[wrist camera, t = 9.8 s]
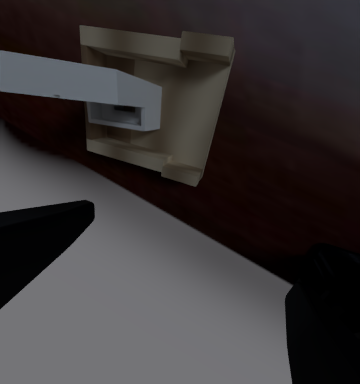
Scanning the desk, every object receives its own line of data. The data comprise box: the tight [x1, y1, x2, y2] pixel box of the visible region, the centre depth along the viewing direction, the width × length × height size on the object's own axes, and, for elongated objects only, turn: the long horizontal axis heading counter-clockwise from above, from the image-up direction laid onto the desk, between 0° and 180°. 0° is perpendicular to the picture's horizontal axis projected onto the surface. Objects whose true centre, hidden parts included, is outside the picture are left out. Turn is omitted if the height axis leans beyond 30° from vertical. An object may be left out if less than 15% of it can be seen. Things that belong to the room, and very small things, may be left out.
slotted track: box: [80, 25, 235, 187], centre depth 16 cm, size 12×11×4 cm
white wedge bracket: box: [0, 50, 162, 131], centre depth 14 cm, size 4×10×9 cm, turn 83°
